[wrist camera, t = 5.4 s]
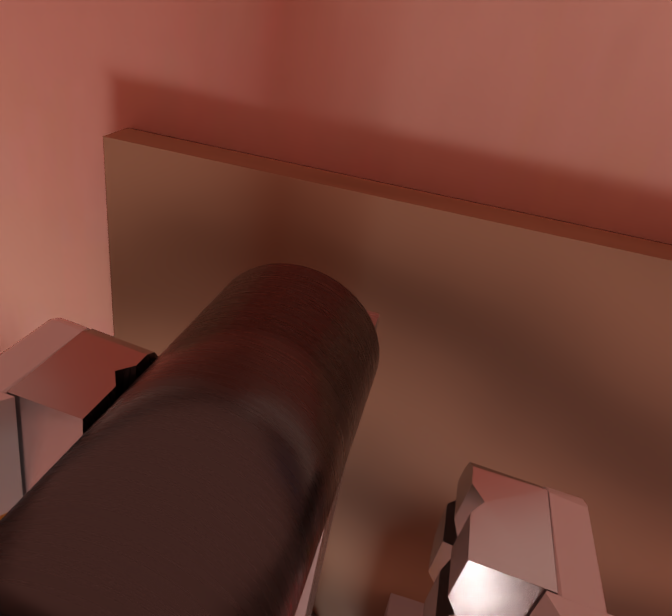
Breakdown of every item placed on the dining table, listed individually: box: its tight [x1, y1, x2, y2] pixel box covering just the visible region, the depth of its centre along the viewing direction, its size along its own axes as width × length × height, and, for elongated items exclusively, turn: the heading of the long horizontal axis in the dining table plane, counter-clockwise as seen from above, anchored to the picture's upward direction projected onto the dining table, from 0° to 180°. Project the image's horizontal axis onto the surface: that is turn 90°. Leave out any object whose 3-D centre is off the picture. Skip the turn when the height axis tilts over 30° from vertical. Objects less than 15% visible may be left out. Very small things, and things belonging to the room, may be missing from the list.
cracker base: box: [103, 128, 672, 616], centre depth 17 cm, size 22×20×8 cm
